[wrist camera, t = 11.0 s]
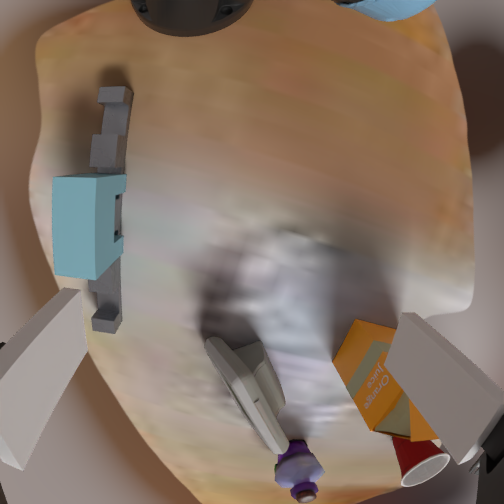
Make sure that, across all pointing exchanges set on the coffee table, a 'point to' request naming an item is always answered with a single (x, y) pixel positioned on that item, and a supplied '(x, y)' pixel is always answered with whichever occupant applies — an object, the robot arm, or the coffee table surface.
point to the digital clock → (252, 387)
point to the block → (85, 223)
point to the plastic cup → (418, 460)
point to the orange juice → (378, 383)
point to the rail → (112, 161)
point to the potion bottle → (298, 471)
